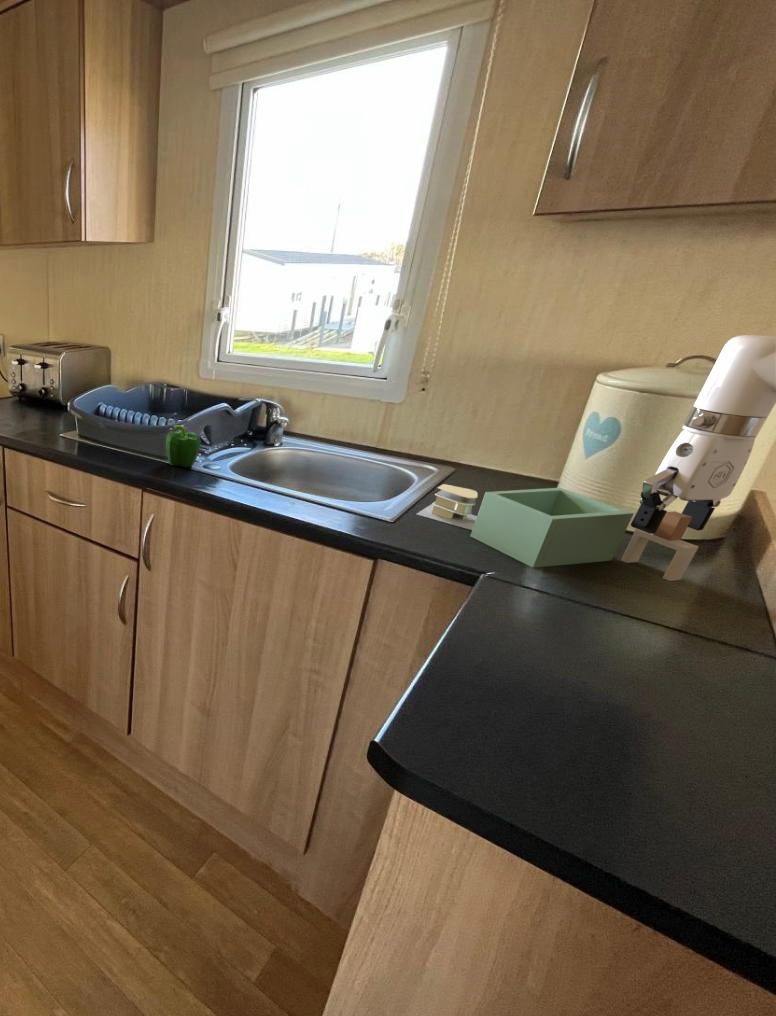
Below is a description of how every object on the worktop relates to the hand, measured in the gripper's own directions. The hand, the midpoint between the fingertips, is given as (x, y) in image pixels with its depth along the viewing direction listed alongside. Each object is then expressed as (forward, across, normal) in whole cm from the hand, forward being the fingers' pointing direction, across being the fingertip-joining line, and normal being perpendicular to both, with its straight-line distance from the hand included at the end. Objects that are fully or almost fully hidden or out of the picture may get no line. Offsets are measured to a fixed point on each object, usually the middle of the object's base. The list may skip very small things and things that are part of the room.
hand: (665, 528), depth 88 cm
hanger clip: (+7, 0, -1) cm, 7 cm away
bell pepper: (+9, -57, +64) cm, 86 cm away
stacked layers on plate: (+8, -15, +24) cm, 30 cm away
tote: (+8, -11, +9) cm, 16 cm away
